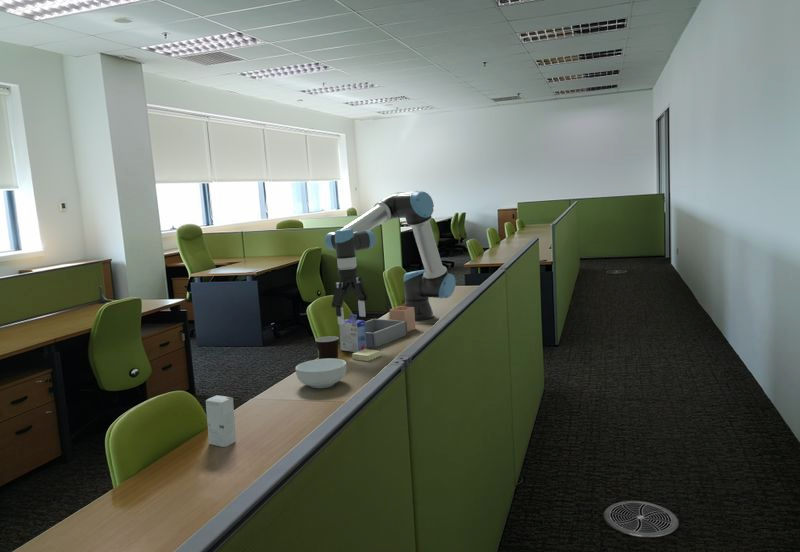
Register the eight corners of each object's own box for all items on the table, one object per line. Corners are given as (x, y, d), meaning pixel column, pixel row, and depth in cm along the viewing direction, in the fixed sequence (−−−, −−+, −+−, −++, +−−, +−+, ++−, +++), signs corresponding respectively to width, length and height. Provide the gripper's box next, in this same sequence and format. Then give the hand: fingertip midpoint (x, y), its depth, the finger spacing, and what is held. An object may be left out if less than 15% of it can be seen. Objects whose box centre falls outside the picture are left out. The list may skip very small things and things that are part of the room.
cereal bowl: (354, 377, 213) (353, 357, 212) (337, 393, 198) (335, 372, 197) (309, 376, 218) (307, 357, 217) (288, 392, 202) (286, 371, 201)
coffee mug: (336, 368, 226) (334, 341, 225) (314, 368, 228) (312, 342, 227) (345, 359, 237) (343, 334, 236) (324, 359, 239) (322, 334, 238)
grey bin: (374, 331, 282) (373, 318, 281) (407, 334, 272) (406, 321, 271) (340, 344, 263) (339, 330, 262) (374, 347, 252) (373, 333, 252)
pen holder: (401, 327, 287) (399, 306, 286) (415, 328, 282) (414, 307, 281) (391, 331, 281) (389, 309, 279) (405, 332, 276) (404, 310, 275)
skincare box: (208, 444, 163) (203, 400, 161) (220, 438, 166) (216, 394, 165) (225, 447, 160) (220, 402, 158) (238, 441, 163) (233, 397, 162)
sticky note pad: (365, 355, 244) (364, 349, 244) (380, 357, 239) (380, 350, 239) (352, 360, 238) (352, 353, 237) (368, 362, 233) (367, 355, 233)
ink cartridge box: (367, 349, 251) (365, 314, 249) (359, 353, 246) (356, 317, 244) (349, 347, 256) (346, 313, 254) (340, 350, 252) (337, 315, 250)
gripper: (359, 263, 259) (363, 312, 262) (319, 272, 239) (324, 326, 242) (373, 263, 254) (378, 313, 258) (333, 273, 234) (339, 328, 237)
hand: (352, 320), depth 250 cm, fingers open, 13 cm apart
